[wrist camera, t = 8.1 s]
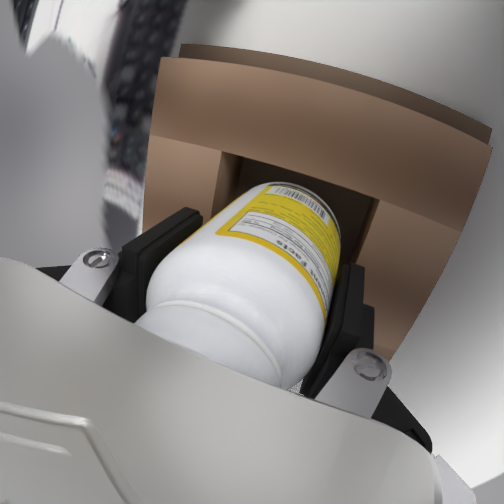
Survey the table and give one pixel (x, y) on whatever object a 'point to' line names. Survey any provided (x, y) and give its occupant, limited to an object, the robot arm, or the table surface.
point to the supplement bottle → (252, 284)
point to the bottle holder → (321, 162)
